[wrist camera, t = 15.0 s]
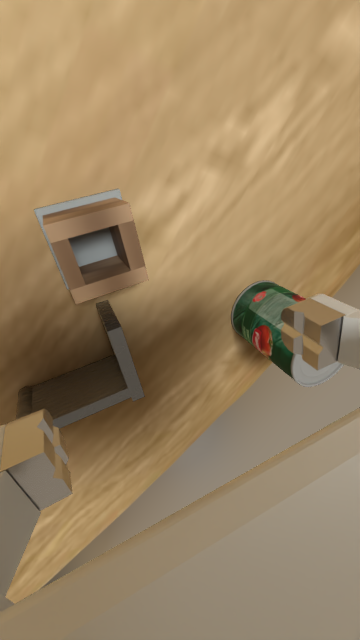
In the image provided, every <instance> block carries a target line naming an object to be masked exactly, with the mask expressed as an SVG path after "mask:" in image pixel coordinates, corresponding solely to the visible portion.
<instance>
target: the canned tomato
mask: <svg viewBox="0 0 360 640" xmlns="http://www.w3.org/2000/svg"><path fill="white" fill-rule="evenodd" d="M303 300H306V299H305V298H303V297H301V296H299V295H298V294H295V293H293V292H291V291H289V290H287V289H285V288H283V287H281V286H279V285H277V284H275V283H274V282H271V281H258V282H256V283H253V284H251V285H250V286H248V287H247V288H246V289H245V290H244V291H242V293H241V294H240V295H239V296H238V298H237V300H236V301H235V303H234V306H233V309H232V313H231V322H232V326H233V328H234V330H235V331H236V332H237V333H238V334H239V335H240V336H242V337H243V338H244V339H245V340H247V341H248V342H249V343H250V344H252V345H253V346H254V347H255V348H256V349H257V350H259V351H260V352H261V353H262V354H264V355H265V356H266V357H267V358H268V359H269V360H271V361H272V362H273V363H274V364H276V365H277V366H278V367H279V368H280V369H282V370H283V371H284V372H285V373H286V374H288V375H289V376H290V377H292V378H293V379H294V380H295V382H297V383H298V384H299V385H301V386H304V387H312V386H316V385H319V384H321V383H323V382H325V381H327V380H328V379H330V378H331V377H332V376H333V375H335V374H336V373H337V372H338V371H339V370H340V369H341V367H342V366H343V365H344V364H341V363H338V361H337V362H335V363H333V364H331V365H328V366H326V367H324V368H322V369H320V370H318V371H317V370H316V369H314V368H313V367H312V366H310V365H309V364H307V363H306V362H305V361H303V359H302V355H299V354H294V353H292V352H291V351H290V350H288V349H287V347H286V346H285V345H284V343H283V341H282V338H281V329H282V327H283V325H284V322H283V321H282V320H281V313H282V310H283V309H284V308H287V307H289V306H291V305H294V304H296V303H298V302H301V301H303Z"/></svg>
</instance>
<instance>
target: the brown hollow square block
mask: <svg viewBox="0 0 360 640" xmlns="http://www.w3.org/2000/svg"><path fill="white" fill-rule="evenodd" d="M42 216H43V227H44V229H45V232H46V234H47V236H48V239H49V241H50V244H51V246H52V248H53V251H54V253H55V256H56V258H57V260H58V263H59V265H60V268H61V270H62V272H63V275H64V277H65V280H66V282H67V284H68V287H69V289H70V292H71V294H72V297H73V299H74V301H75V304H79V303H81V302H84V301H87V300H90V299H93V298H96V297H99V296H102V295H105V294H108V293H111V292H114V291H117V290H120V289H123V288H126V287H129V286H132V285H135V284H138V283H141V282H144V281H147V280H149V278H148V274H147V270H146V267H145V263H144V259H143V255H142V251H141V247H140V243H139V239H138V235H137V231H136V227H135V223H134V219H133V215H132V212H131V208H130V204H129V203H128V202H125V201H123V200H120V199H118V198H115V197H114V198H110V199H106V200H102V201H98V202H94V203H90V204H86V205H82V206H78V207H74V208H70V209H66V210H62V211H58V212H54V213H50V214H46V215H42ZM108 227H109V229H110V232H111V236H112V239H113V242H114V246H115V249H116V252H117V256H113V257H110V258H107V259H103V260H100V261H97V262H93V263H90V264H87V265H84V266H80V267H79V266H78V263H77V261H76V258H75V255H74V253H73V250H72V248H71V245H70V242H69V240H68V238H71V237H75V236H79V235H82V234H86V233H90V232H93V231H97V230H100V229H104V228H108Z"/></svg>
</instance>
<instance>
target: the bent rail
mask: <svg viewBox="0 0 360 640" xmlns="http://www.w3.org/2000/svg"><path fill="white" fill-rule="evenodd" d="M96 306H97V309H98V311H99V314H100V317H101V319H102V322H103V325H104V327H105V330H106V333H107V335H108V338H109V341H110V343H111V346H112V349H113V351H114V354H115V355H112V356H110V357H107V358H105V359H102V360H100V361H97V362H94V363H92V364H89V365H87V366H84V367H82V368H79V369H76V370H74V371H71V372H69V373H66V374H64V375H61V376H59V377H56V378H53V379H51V380H48V381H46V382H43V383H41V384H38V385H35V386H33V387H32V386H27V387H24V388H22V389H21V390H20V391H19V394H18V404H17V415H16V419H19V418H21V417H24V416H27V415H29V414H32V413H34V412H37V411H39V410H42V409H44V408H45V409H47V410H48V412H49V413H50V415H51V416H52V419H53V426H54V427H58V428H62V427H64V426H66V425H69V424H71V423H73V422H76V421H78V420H80V419H82V418H85V417H87V416H89V415H92V414H94V413H96V412H99V411H101V410H103V409H105V408H108V407H110V406H112V405H115V404H117V403H119V402H122V401H124V400H126V399H128V398H132V400H133V401H136V400H138V399H140V398H142V397H145V396H144V393H143V390H142V387H141V384H140V381H139V378H138V375H137V372H136V369H135V366H134V363H133V360H132V357H131V354H130V351H129V348H128V345H127V343H126V340H125V337H124V334H123V331H122V328H121V325H120V323H119V322H118V320H117V318H116V316H115V314H114V312H113V310H112V308H111V306H110V304H109V302H108V300H106V301H103V302H100V303H97V304H96Z"/></svg>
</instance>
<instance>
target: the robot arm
mask: <svg viewBox="0 0 360 640" xmlns="http://www.w3.org/2000/svg"><path fill="white" fill-rule="evenodd" d="M281 320H282V321H283V322H284V325H283V327H282V329H281V338H282V341H283V343H284V345H285V346H286V347H287V349H288V350H290V351H291V352H292V353H294V354H299V355H302V359H303V361H305V362H306V363H307V364H309V365H310V366H312V367H313V368H314V369H316V370H317V371H318V370H320V369H322V368H324V367H326V366H328V365H331V364H333V363H335V362H337V361H338V363H341V364H344V365H347V366H351V367H354V368H357V369H360V309H359V310H358V309H356V308H354V307H352V306H349V305H347V304H345V303H342V302H339V301H338V300H335V299H333V298H331V297H329V296H326V295H324V294H316V295H313V296H311V297H309V298H307V299H306V300H303V301H301V302H298V303H296V304H294V305H291V306H289V307H287V308H284V309H283V310H282V313H281ZM68 459H69V457H68V450H67V446H66V443H65V440H64V437H63V435H62V433H61V431H60V429H59V428H58V427H54V426H53V419H52V416H51V415H50V413H49V412H48V410H47V409H45V408H44V409H42V410H39V411H37V412H34V413H32V414H29V415H27V416H24V417H21V418H19V419H16V420H14V421H11V422H9V423H7V424H4V425H2V426H0V640H360V407H359V408H358V409H356V410H354V411H352V412H351V413H349V414H347V415H345V416H344V417H342V418H340V419H338V420H337V421H335V422H333V423H331V424H330V425H328V426H326V427H324V428H323V429H321V430H319V431H317V432H316V433H314V434H312V435H310V436H309V437H307V438H305V439H303V440H302V441H300V442H298V443H297V444H295V445H293V446H291V447H289V448H288V449H286V450H284V451H282V452H281V453H279V454H277V455H275V456H274V457H272V458H270V459H268V460H267V461H265V462H263V463H261V464H260V465H258V466H256V467H254V468H253V469H251V470H249V471H247V472H246V473H244V474H242V475H240V476H238V477H237V478H235V479H233V480H231V481H230V482H228V483H226V484H224V485H223V486H221V487H219V488H217V489H216V490H214V491H212V492H210V493H209V494H207V495H205V496H203V497H202V498H200V499H198V500H197V501H195V502H193V503H191V504H189V505H188V506H186V507H184V508H182V509H181V510H179V511H177V512H175V513H174V514H172V515H170V516H168V517H167V518H165V519H163V520H161V521H160V522H158V523H156V524H154V525H152V526H151V527H149V528H148V529H145V530H144V531H142V532H140V533H138V534H137V535H135V536H133V537H131V538H130V539H128V540H126V541H124V542H123V543H121V544H119V545H117V546H116V547H114V548H112V549H111V550H109V551H107V552H105V553H103V554H102V555H100V556H98V557H96V558H95V559H93V560H91V561H89V562H87V563H86V564H84V565H82V566H81V567H79V568H77V569H75V570H74V571H72V572H70V573H68V574H67V575H65V576H63V577H61V578H59V579H58V580H56V581H54V582H52V583H51V584H49V585H47V586H45V587H44V588H42V589H40V590H38V591H37V592H35V593H33V594H31V595H30V596H28V597H26V598H24V599H23V600H21V601H19V602H17V603H16V604H14V603H13V602H11V601H10V600H9V599H7V598H6V597H5V596H6V593H7V591H8V589H9V586H10V584H11V582H12V579H13V577H14V575H15V572H16V570H17V567H18V565H19V563H20V560H21V558H22V556H23V553H24V551H25V549H26V546H27V544H28V542H29V539H30V537H31V534H32V532H33V530H34V527H35V525H36V523H37V520H38V518H39V516H40V513H41V512H40V511H41V510H43V509H45V508H46V507H48V506H50V505H52V504H54V503H56V502H58V501H60V500H61V499H63V498H65V497H67V496H69V495H71V494H72V485H71V475H70V471H69V470H68V468H67V466H66V463H67V461H68Z"/></svg>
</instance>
